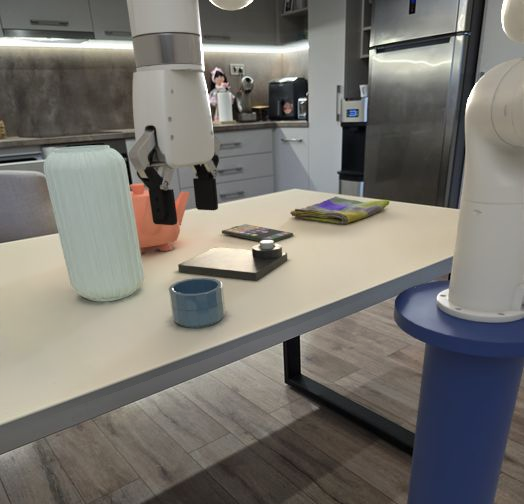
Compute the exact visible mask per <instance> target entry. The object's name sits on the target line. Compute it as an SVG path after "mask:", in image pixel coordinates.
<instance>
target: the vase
mask: <svg viewBox="0 0 524 504" xmlns="http://www.w3.org/2000/svg"><path fill="white" fill-rule="evenodd" d="M43 172H44V173H43V174H44V178H45V182H46V186H47V191H48V195H49V198H50V199H49V200H50V203H51V207H52V212H53V216H54V220H55V224H56V228H57V233H58V237H59V241H60V245H61V249H62V254H63V259H64V262H65V267H66V271H67V275H68V280H69V283H70V286H71V288H72V289H73V291H74V292H75V293H76V294H77V295H79V296H80V297H83V298H85V299H87V300H89V301H91V302H100V303H102V302H113V301H119V300H122V299H125V298H127V297H130V296H131V295H133V294H134V293H135V292H136V290H138V289H139V288H140V287H141V285H142V283H143V281H144V278H145V273H144V266H143V260H142V254H141V253H140V247H139V241H138V235H137V229H136V223H135V217H134V211H133V204H132V198H131V192H130V191H131V188H130V182H129V181H130V180H129V174H128V168H127V163H126V161H125V159H124V157H123V155H122V154H121V153H120V152H119V151H118V150H116V149H115V148H112V147H111V146H110V144H109V145H108V144H95V145H78V146H66V147H58V148H57V147H56V148H53V151H52V152H50V153H49V154H48V155H47V156H46V158H45V160H44V162H43Z"/></svg>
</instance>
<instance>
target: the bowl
mask: <svg viewBox="0 0 524 504" xmlns="http://www.w3.org/2000/svg"><path fill="white" fill-rule="evenodd" d="M168 295H169V302H170V309H171V316H172V319H173V321H174V322H175V323H177V324H178V325H179V326H181V327H184V328H190V329H197V328H205V327H206V328H207V327H209V326H212V325H215V324H217V323H219V322H220V321H221V320H222V319H223V318H224V317H225V314H226V307H225V299H224V298H225V296H224V285H223V283H222V282H221V281H220V280H218V279H217V278H216V279H215V278H209V277H194V278H186V279H183V280H180V281H177V282H175V283H173V284H171V285H169V287H168Z"/></svg>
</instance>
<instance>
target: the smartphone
mask: <svg viewBox="0 0 524 504" xmlns="http://www.w3.org/2000/svg"><path fill="white" fill-rule="evenodd" d="M221 234H223V235H227V236H233V237H238V238H242V239H246V240H247V239H248V240H253V241H257V242H260V241H262V240H272V241H274V243H275V242H279V241H281V240H284V239H288V238H290V237H294V232H289V231H284V230H279V229H275V228H274V229H273V228H269V227H263V226H257V225H252V224H247V223H244V224H241V225H237V226H236V225H235V226H233V227H230V228H226V229H222V230H221Z"/></svg>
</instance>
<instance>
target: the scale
mask: <svg viewBox="0 0 524 504" xmlns="http://www.w3.org/2000/svg"><path fill="white" fill-rule="evenodd" d="M287 261H288V252H283V246H282V245H281V244H279V243H275V242H274V248H271V249H260V243H257V244H255V245H253V246H251V249H245V248H244V249H242V248H231V247H221V246H220V247H219V246H214V247H213V248H210V249H208V250H207V251H204V252H202V253H199V254H197V255H196V256H193V257H191V258H188V259H187V260H185V261H182V262H181V263H179V264H177V268H178V273H185V274H193V275H202V276H210V277H211V276H212V277H218V278H219V277H220V278H221V277H222V278H229V279H238V280H247V281H255V282H256V281H258V280H260V279H261V278H263V277H264V276H265V275H267V274H269V273H270V272H272V271H274V270H275V269H276V268H278V267H280V266H281V265H282V264H284V263H286V262H287Z"/></svg>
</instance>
